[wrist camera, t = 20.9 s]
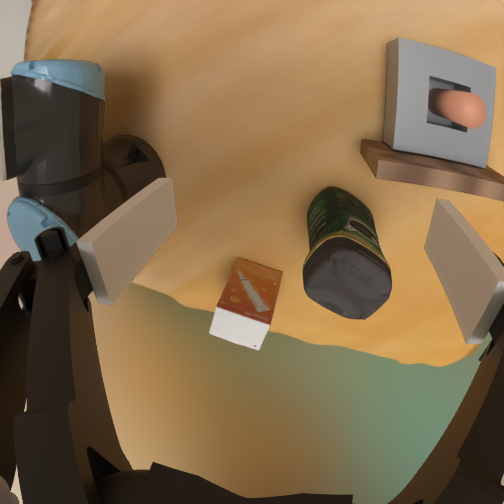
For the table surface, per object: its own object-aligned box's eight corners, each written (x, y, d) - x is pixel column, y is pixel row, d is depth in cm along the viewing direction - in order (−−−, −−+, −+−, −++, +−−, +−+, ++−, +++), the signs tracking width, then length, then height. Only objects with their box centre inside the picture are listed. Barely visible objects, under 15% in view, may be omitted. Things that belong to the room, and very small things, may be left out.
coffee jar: (299, 218, 45) (286, 298, 30) (328, 177, 41) (334, 241, 26) (349, 250, 46) (358, 337, 31) (380, 213, 42) (409, 291, 27)
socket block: (382, 140, 36) (393, 149, 31) (387, 43, 29) (398, 37, 24) (467, 156, 34) (485, 168, 29) (475, 67, 26) (495, 67, 21)
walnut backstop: (360, 152, 38) (376, 178, 28) (361, 139, 37) (378, 159, 27) (478, 174, 34) (518, 205, 25) (481, 161, 33) (522, 190, 23)
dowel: (426, 85, 30) (458, 88, 21) (451, 91, 29) (487, 98, 21) (424, 112, 32) (455, 124, 23) (449, 118, 31) (484, 132, 23)
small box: (283, 271, 51) (271, 325, 40) (272, 297, 55) (259, 352, 44) (237, 255, 51) (215, 306, 40) (230, 283, 55) (208, 334, 44)
